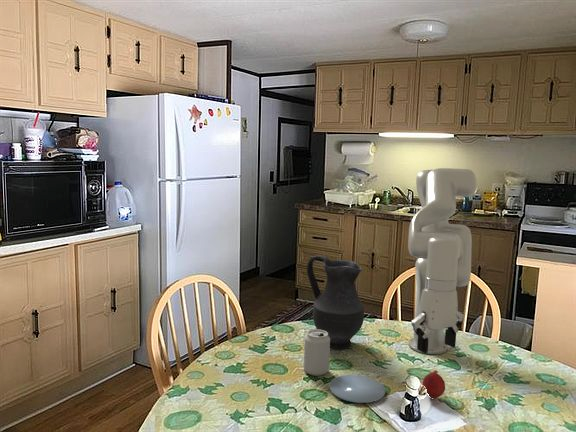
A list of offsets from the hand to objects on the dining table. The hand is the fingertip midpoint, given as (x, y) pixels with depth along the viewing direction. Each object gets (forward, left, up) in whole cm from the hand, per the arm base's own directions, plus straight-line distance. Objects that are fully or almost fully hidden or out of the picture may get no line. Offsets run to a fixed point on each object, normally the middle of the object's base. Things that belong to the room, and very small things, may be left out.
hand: (436, 348), depth 126 cm
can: (+20, -27, -14) cm, 37 cm away
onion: (0, 0, -14) cm, 14 cm away
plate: (+16, -12, -14) cm, 24 cm away
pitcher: (+4, -43, -14) cm, 46 cm away
